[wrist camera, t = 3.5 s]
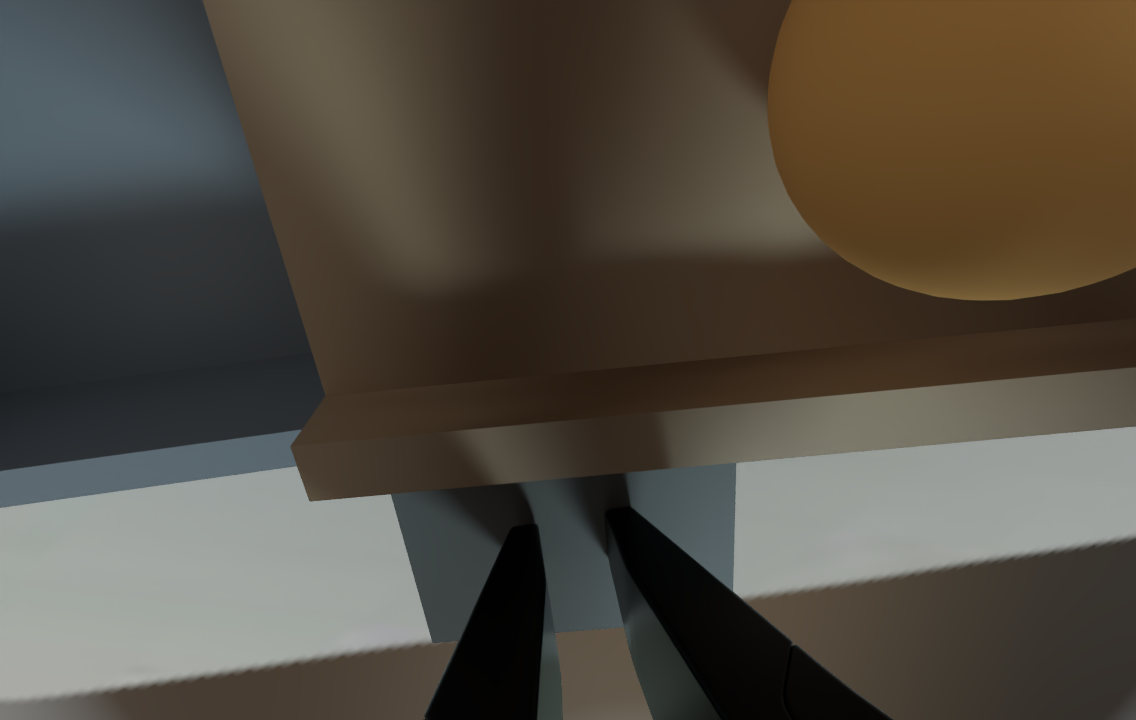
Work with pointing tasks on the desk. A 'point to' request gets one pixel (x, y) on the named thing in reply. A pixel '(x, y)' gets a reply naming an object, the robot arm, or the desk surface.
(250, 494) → the desk surface
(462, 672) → the robot arm
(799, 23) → the ball
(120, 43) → the tray
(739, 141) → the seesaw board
